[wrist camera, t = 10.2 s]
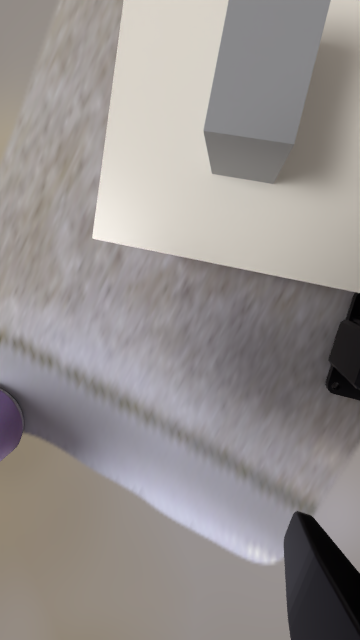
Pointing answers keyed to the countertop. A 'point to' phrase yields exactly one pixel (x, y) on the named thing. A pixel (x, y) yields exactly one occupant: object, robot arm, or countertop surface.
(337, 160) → the cover sheet
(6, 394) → the beverage can
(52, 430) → the countertop surface
